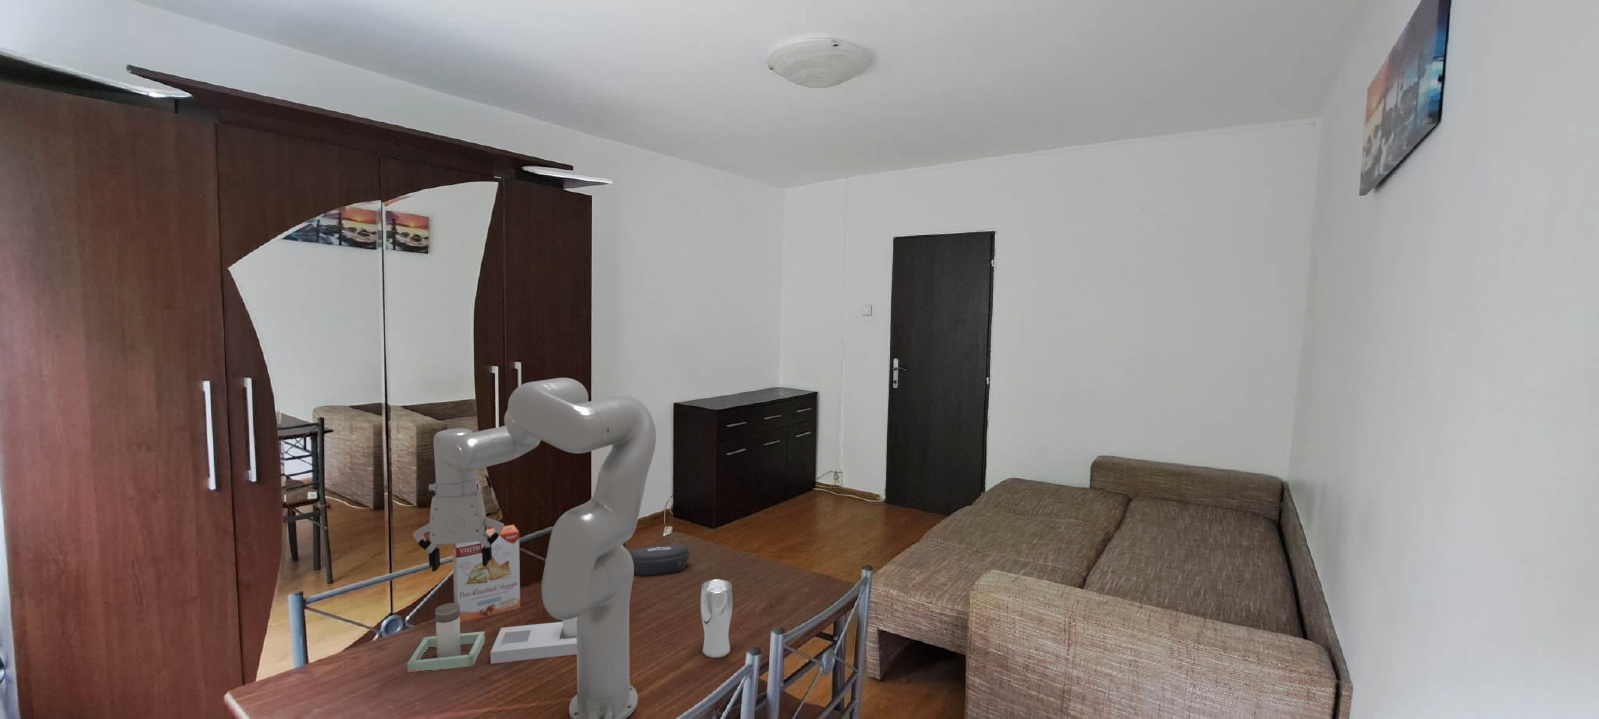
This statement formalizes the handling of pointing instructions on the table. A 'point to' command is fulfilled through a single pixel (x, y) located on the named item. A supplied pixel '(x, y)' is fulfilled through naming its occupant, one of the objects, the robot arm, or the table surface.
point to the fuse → (569, 628)
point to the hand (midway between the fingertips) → (461, 566)
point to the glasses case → (660, 559)
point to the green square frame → (447, 662)
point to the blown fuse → (448, 630)
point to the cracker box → (487, 576)
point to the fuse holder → (532, 643)
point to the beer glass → (716, 617)
